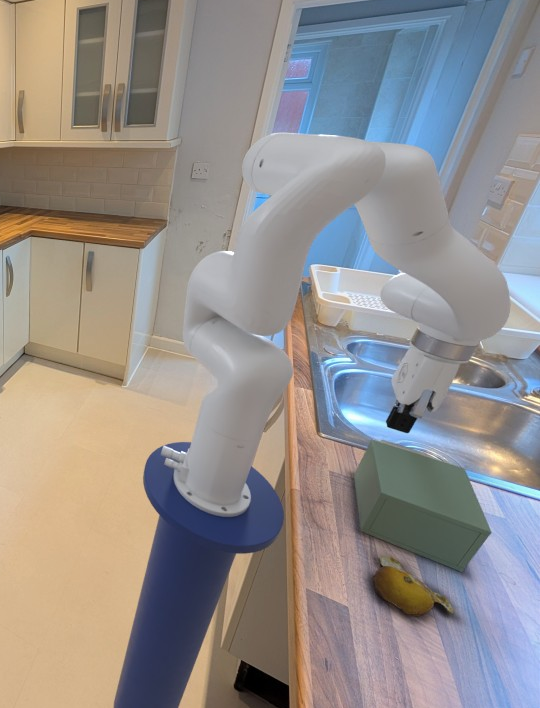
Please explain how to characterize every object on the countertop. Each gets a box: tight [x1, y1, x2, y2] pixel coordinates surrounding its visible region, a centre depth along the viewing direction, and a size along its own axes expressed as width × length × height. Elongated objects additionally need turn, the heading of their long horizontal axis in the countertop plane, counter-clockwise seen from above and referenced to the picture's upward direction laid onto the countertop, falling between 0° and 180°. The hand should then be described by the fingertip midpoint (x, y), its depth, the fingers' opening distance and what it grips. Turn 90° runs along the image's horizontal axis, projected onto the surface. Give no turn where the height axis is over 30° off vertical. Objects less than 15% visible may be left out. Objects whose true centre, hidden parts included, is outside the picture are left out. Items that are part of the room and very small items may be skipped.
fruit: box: [372, 555, 455, 617], centre depth 58 cm, size 8×8×4 cm
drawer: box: [372, 438, 455, 465], centre depth 71 cm, size 17×10×7 cm, turn 146°
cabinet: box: [353, 439, 492, 573], centre depth 68 cm, size 14×12×9 cm
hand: (396, 427), depth 80 cm, fingers closed
